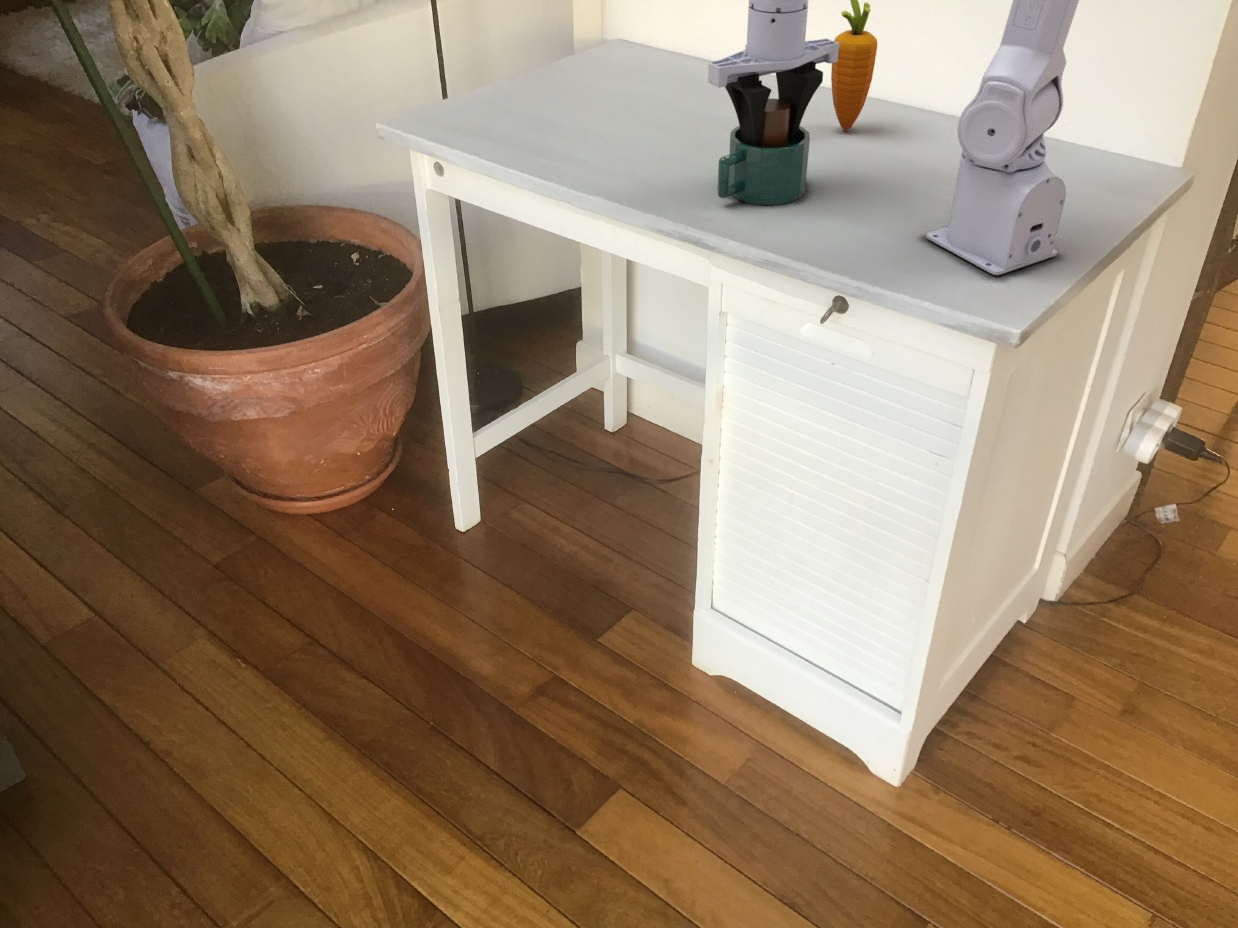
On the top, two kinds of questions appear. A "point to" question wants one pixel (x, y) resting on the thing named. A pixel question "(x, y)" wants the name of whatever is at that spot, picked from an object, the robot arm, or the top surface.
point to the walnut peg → (775, 124)
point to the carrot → (853, 67)
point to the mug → (764, 171)
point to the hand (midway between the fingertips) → (769, 143)
